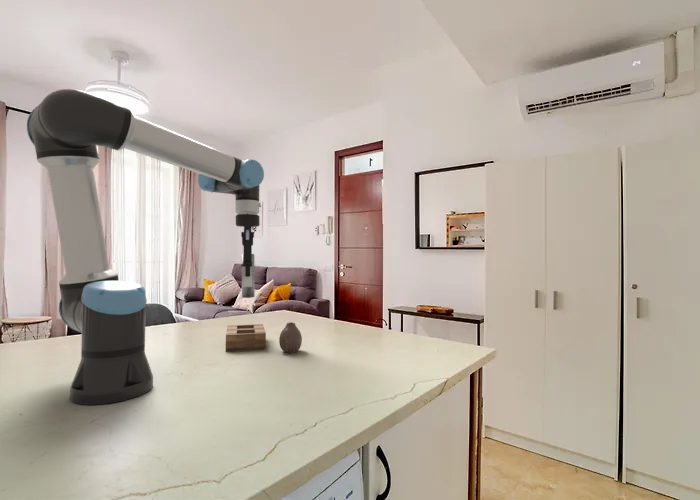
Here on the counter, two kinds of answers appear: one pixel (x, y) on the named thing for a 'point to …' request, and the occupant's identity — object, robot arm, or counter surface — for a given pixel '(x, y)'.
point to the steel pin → (250, 291)
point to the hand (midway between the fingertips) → (247, 285)
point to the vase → (290, 338)
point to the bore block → (245, 337)
